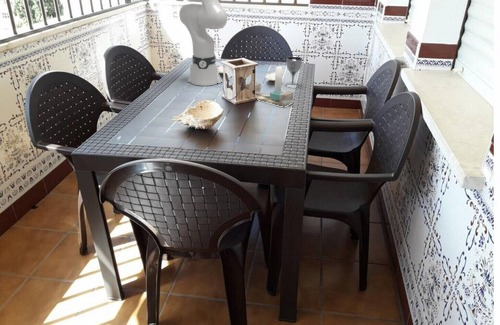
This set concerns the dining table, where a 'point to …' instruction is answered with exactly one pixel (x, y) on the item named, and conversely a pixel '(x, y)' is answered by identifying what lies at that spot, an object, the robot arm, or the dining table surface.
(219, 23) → the robot arm
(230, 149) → the dining table surface
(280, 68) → the white tall piece
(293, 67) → the wine glass
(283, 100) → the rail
